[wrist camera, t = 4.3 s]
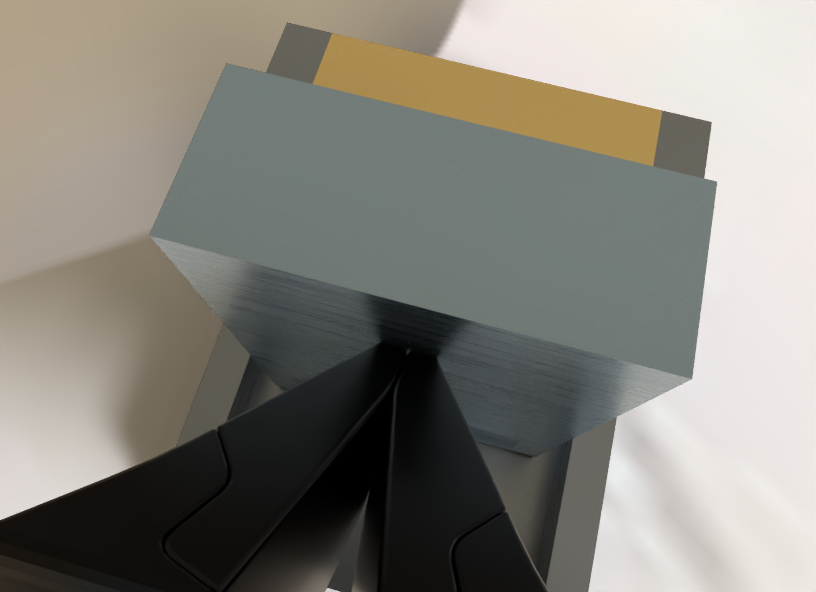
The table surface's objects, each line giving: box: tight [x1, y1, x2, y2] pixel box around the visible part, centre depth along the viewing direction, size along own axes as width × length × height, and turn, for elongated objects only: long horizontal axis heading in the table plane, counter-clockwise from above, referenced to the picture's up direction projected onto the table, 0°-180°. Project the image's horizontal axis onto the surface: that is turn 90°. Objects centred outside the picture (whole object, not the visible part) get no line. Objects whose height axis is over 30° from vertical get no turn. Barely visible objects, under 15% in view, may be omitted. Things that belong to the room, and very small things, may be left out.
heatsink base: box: [176, 23, 712, 592], centre depth 14 cm, size 11×9×5 cm
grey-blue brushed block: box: [149, 64, 717, 457], centre depth 12 cm, size 6×6×8 cm
